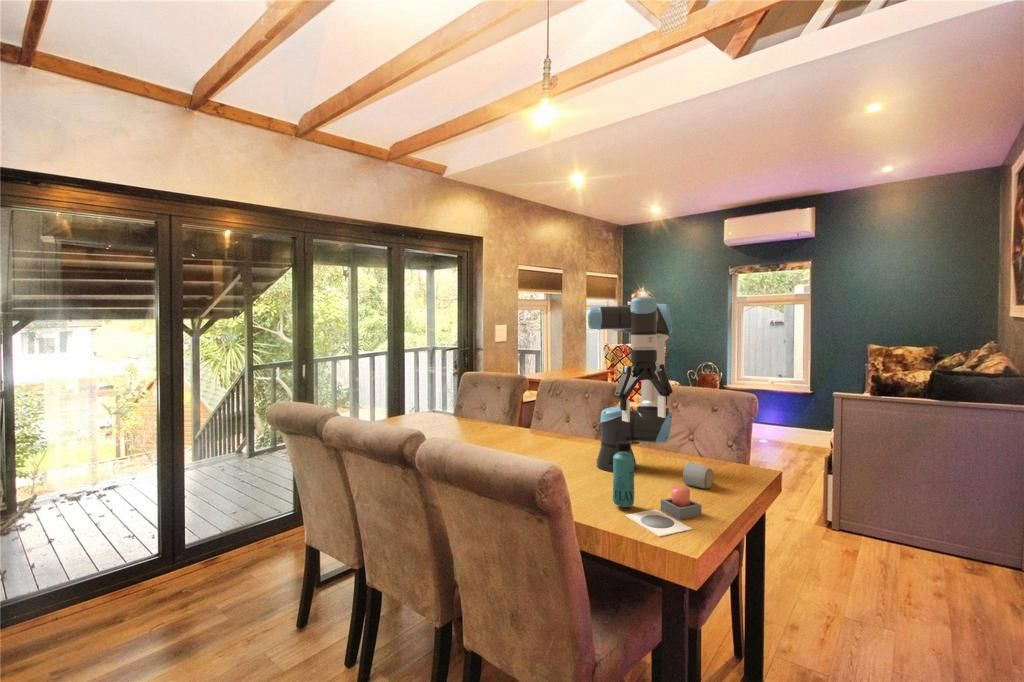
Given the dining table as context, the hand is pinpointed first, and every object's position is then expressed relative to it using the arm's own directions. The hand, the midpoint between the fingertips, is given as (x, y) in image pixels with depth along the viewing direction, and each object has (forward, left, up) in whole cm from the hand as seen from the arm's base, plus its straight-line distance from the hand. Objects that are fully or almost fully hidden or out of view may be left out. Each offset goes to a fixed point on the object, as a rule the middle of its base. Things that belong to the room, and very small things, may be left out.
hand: (644, 419), depth 144 cm
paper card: (+11, -4, -27) cm, 29 cm away
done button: (+8, +7, -25) cm, 27 cm away
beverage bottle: (-2, -6, -27) cm, 28 cm away
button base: (+8, +7, -27) cm, 29 cm away
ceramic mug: (-9, +29, -27) cm, 41 cm away
